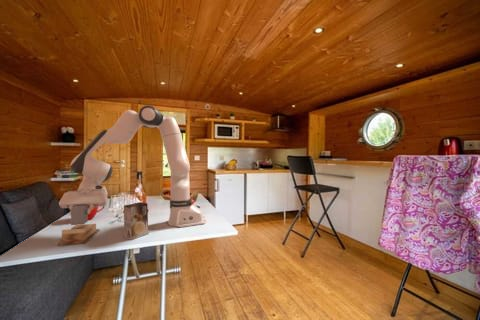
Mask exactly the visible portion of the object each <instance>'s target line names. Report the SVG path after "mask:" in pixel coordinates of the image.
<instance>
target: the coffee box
mask: <svg viewBox="0 0 480 320" xmlns="http://www.w3.org/2000/svg"><path fill="white" fill-rule="evenodd" d="M148 206H149V205H148V203H147V202H142V201H140V202H135V203H130V204H125V205H123V223H124V225H123V226H124V229H123V230H124V235H123V236H124V238H125V239H129V240H131V241H133V240H135V239H138V238H141V237H144V236H146V235H149V215H148V214H149V212H148V211H149V209H148Z"/></svg>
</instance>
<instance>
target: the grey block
mask: <svg viewBox="0 0 480 320" xmlns="http://www.w3.org/2000/svg"><path fill="white" fill-rule="evenodd" d="M86 209H88V205H85V206H75V207H73V208H71V210H70V211H71V215H70V225H71V226H76V225H84V224H87V223H88V221H89V220H88V214H86V213H85V211H86Z"/></svg>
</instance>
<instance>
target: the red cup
mask: <svg viewBox="0 0 480 320" xmlns="http://www.w3.org/2000/svg"><path fill="white" fill-rule="evenodd" d="M105 206H106V205H105ZM105 206H102V208H100V209H98V208H99V206H97V207H94V209H93V210H91V211H90V214H88V221H90V220H93V219H94V218H95V216H96V215H97V213H99V212H101V211H103V209H105ZM89 208H90V207H88V209H89Z"/></svg>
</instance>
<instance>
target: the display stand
mask: <svg viewBox="0 0 480 320" xmlns="http://www.w3.org/2000/svg"><path fill="white" fill-rule="evenodd" d="M99 232H100V228H97V223H85V224H81V225H73V226H72V227H71V228H69V229H67V228H66V229H62V230H61V240H60V241H59V242H58V243H57V247H62V246H63V247H64V246H75V245H83V244H87V243H89V242H90V240H92V239H93V238H94V237H95V236H96V235H97V234H99Z"/></svg>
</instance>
